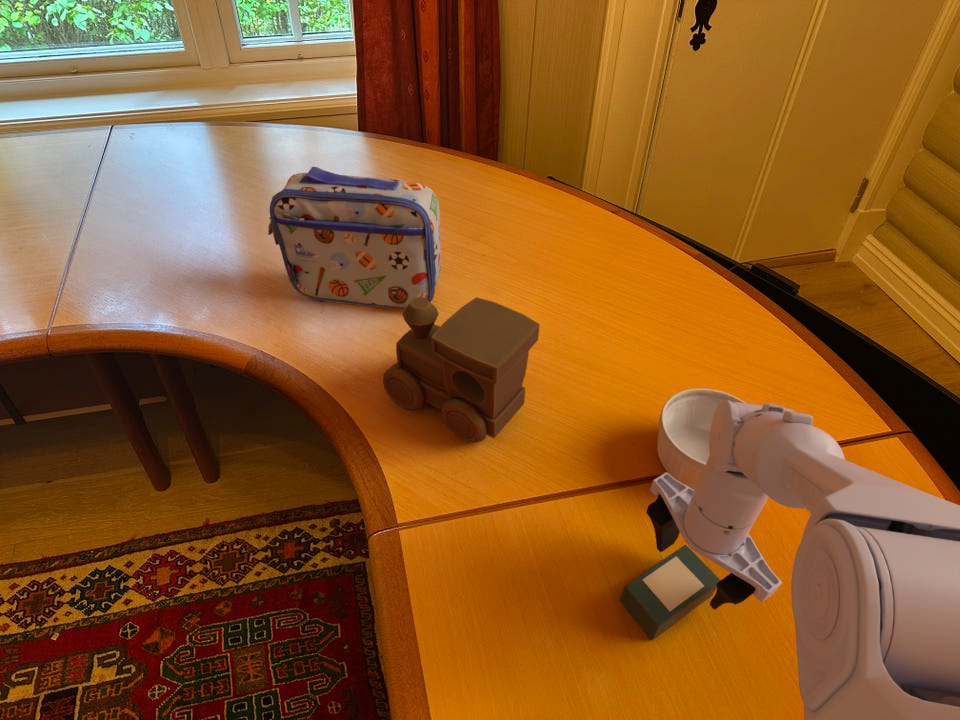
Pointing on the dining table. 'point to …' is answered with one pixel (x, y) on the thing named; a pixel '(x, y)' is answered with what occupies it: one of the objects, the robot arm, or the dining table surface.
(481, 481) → the dining table surface
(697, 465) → the ramekin
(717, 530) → the robot arm
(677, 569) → the carton
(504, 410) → the wooden toy train
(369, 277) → the lunch box
